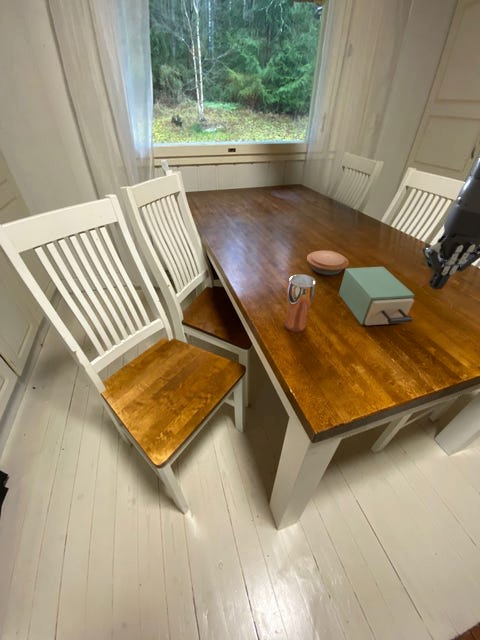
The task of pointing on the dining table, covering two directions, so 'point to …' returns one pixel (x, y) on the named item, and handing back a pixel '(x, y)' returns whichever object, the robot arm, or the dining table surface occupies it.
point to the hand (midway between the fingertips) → (435, 287)
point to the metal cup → (299, 301)
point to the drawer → (389, 311)
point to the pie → (327, 262)
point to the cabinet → (369, 289)
